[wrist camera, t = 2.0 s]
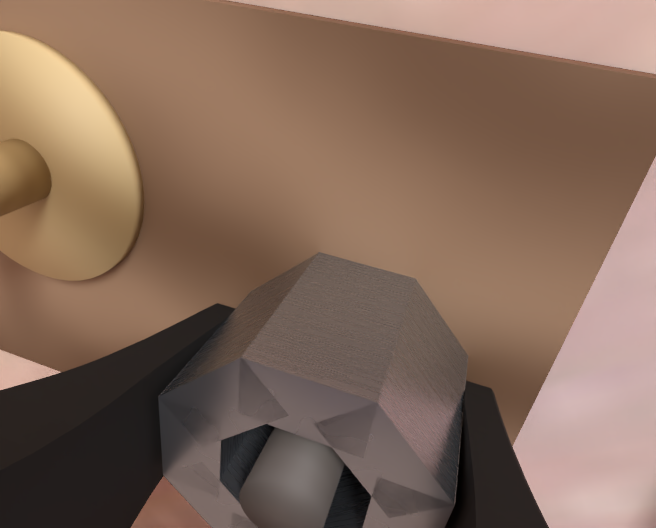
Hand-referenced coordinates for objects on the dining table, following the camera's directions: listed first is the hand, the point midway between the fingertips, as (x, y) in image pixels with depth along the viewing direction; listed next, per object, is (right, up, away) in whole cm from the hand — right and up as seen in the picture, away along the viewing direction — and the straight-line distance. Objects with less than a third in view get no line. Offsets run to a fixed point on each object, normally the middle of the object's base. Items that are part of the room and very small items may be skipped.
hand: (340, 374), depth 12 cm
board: (-4, +3, +2) cm, 5 cm away
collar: (0, 0, +1) cm, 1 cm away
